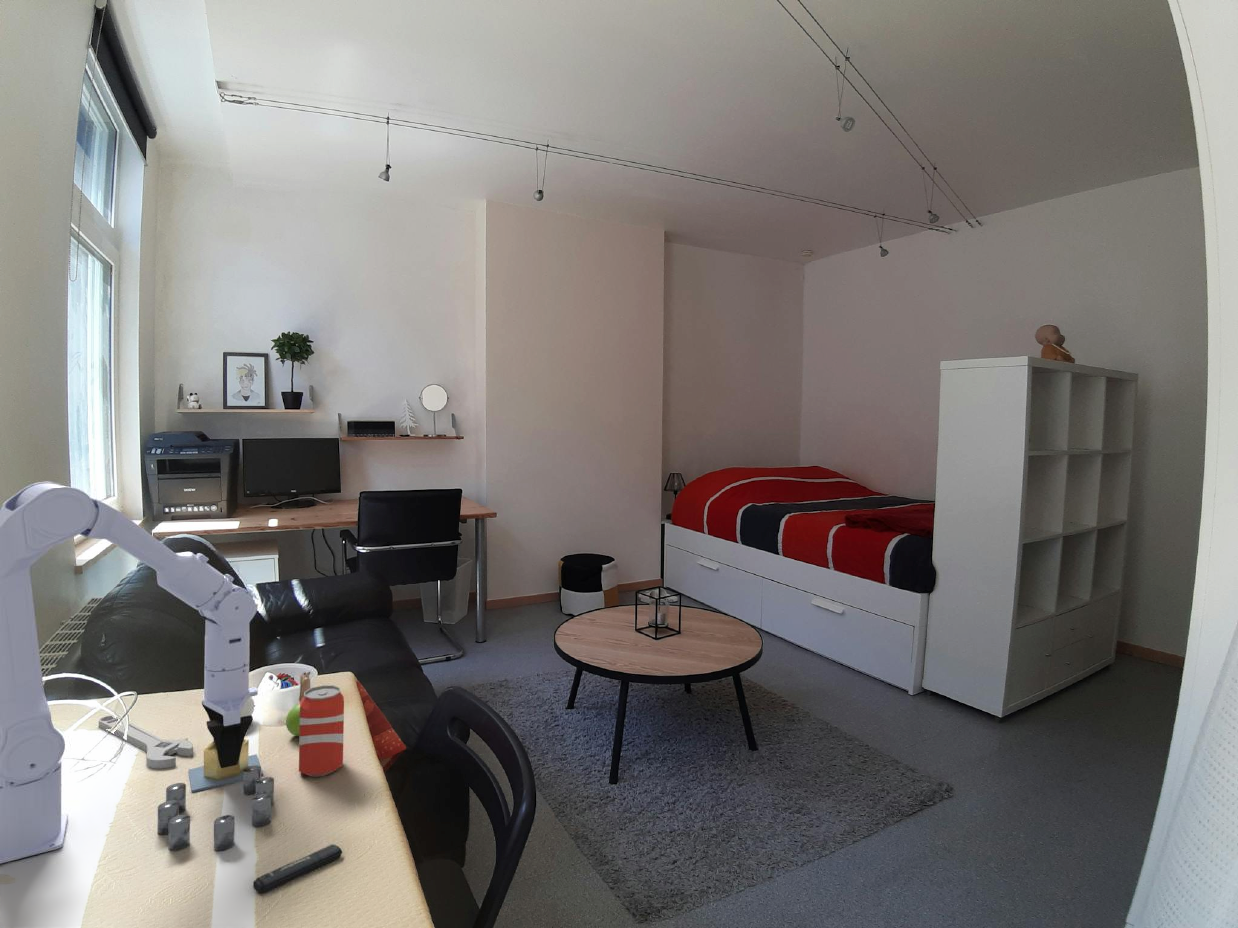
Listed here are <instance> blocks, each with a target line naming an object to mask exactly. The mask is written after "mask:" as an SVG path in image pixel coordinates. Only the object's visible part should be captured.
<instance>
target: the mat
mask: <svg viewBox="0 0 1238 928" xmlns="http://www.w3.org/2000/svg"><path fill="white" fill-rule="evenodd" d="M258 757H259V756H258V754H251V755H248V767H249V766H253V765H258V766H260V767H261V777H263V776H264V771H263V769H262V765H261V762H260V760H259V758H258ZM188 776H189V782H190V792H191V793H196V792H201V791H204V790H208V789H212V788H217V787H219V786H220V787H221V786H225V785H228V784H229V785H230V784H233V783H237V782H241V781H242V782H243V772H242V773H241V774H240V776H236V777H232V778H228V779H223V780H219V781H215V780H212V779H209V778H207V777H204V765H202V766H199V767H194V768H190V769H189V768H188Z"/></svg>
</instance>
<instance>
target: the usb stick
mask: <svg viewBox="0 0 1238 928" xmlns="http://www.w3.org/2000/svg"><path fill="white" fill-rule="evenodd" d="M342 854H343V850H342V848H340V846H338V845H337V844H333V843H332V844H330V845H327V846H325V847H323V848H321V849H319V850H316V851H314V852H313V853H310V854H308V855H306V856H303V857H300V858H298V859H296V860H294V861H292V862H290V863H287V864H285V865H283V866H281V867H278V868H275V869H273V870H272V871H269V872H267V873H265V874H262V875H261V876H257V877H256V878H255V880H253V882H252V883H253V884H252V887H253V888H254V890H255V891H256V893H257V894H258V895H261V894H263V895H264V894H265V895H266V894H267V893H269V892H271V891H274V890H276V889H279V888H280V887H282V886H284V885H287V884H289V883H291V882H293V881H295V880H298V879H300V878H302V877H304V876H306V875H308V874H311V873H313V872H314V871H317V870H319V869H322V868H323V867H325V866H328V865H330V864H332V863H334V862H336V861H339V860H340V859H341V857H342Z"/></svg>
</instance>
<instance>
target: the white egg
mask: <svg viewBox="0 0 1238 928" xmlns="http://www.w3.org/2000/svg"><path fill="white" fill-rule="evenodd" d="M254 704H255V700H254V698H253V696H252V697H250V698H249V699H248V700H247V702H246V703H245V705H244V706H243V708H242V709H241V713H240V717H244V716H249V715H252V716H253V714H254V710H255V707H256V705H254Z"/></svg>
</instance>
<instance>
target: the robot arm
mask: <svg viewBox="0 0 1238 928" xmlns="http://www.w3.org/2000/svg"><path fill="white" fill-rule="evenodd" d="M79 535H81V536H82V537H85V538H87V539H95V540H107V541H108V542H109V543H111V544H112V545H114V546H116V547H118V548H119V549H121V550H122V551H124V552H125V553H128V554H129V555H131V556H132V557H134V558H135V559H137V560H139V561H141V562H142V563H144V564H145V565H147V566H148V567H150V568H152V569H153V570H155V572H156V582H157V585H158V587H161V588H162V589H164V590H166V591H167V592H168V593H170V594H171V595H172V596H174V597H176V598H177V599H179V600H180V601H182V602H184V603H185V604H187V605H188V606H189V607H191V608H193V609H195V610H197V611H198V612H199V614H200V616H201V617H205V618H207V619H205V626H204V627H205V631H204V632H205V633H204V669H203V670H204V672H203V673H204V677H203V678H204V679H203V680H204V681H203V682H204V683H203V684H204V685H203V688H204V689H203V693H204V694H203V696H202V700H201V705H202V708H203V709H204V710H205V712H206V714H207V716H208V720H207V721H206V726H207V730H208V732H209V733H210V735H211V736H212V738H213V741H215V744H216V748H217V755H218V760H219V764H220V767H221V768H225V767H230V766H234V765H237V764H238V761H239V757H240V753H241V749H242V744H243V741H244V739H246V738H245V737H246V735H247V733H248V731H249V729H250V727H251V726H252V723H253V721H254V717H253V714H252V715H249V716H244V717H240V713H241V709H242V708H243V706H244V705H245V703H246V702H247V700H248V699H249V698H250V697H252V698H253V697H255V696H258V694H259V690H258V688H257V687H255V686H254V687H253V686H252V687H250V638H251V637H250V623H251V621H252V620H253V618H254V617H255V615H256V613H257V612H258V606H259V605H258V603H256V602H255V601H256V599H254V595H253V594H252V592H251V591H250V590H248V589H247V588H244V587H241V586H239V585H236V584H234V583H233V581H234V580H235V578H234V576H232V575H231V574H228V573H225V574H223V573H221V572H220V571H219V570H217V569H216V568H215V567H213V566H212V565H210V563H207V562H208V561H209V560H210V559H209V557H207V556H205V555H204V554H203V553H200V552H198V553H196V554H195V553H194V552H191V551H183V552H174V551H173V550H171V549H170V548H169V547H168V546H167V545H165V544H164V543H162V542H161V541H159V539H157V537H154V535H151V534H150V533H149V532H148V531H146V530H145V529H144V528H142V527H141V526H140V525H138V524H137V523H136V522H134V521H133V520H132V519H130V518H129V517H128V516H127V515H125V514H124V513H122V512H121V511H120V510H117V509H116V508H114V507H112V506H111V505H109V504H107V503H105V502H103V501H100V500H98V499H97V498H96V499H95V498H92V497H90V495H88V493H86V492H85V491H83V490H81V489H80V488H76V487H71V486H65V485H64V484H62V483H58V482H53V481H40V482H35V483H32V484H29V485H27V486H26V487H23V488H22V489H21V490H20V491H18V492H16V493H15V494H14V495H13V496H11V497H10V498H8V499H6V500H5V501H4V502H3V504H2V506H1V508H0V864H3V863H8V862H11V861H15V860H19V859H24V858H27V857H31V856H35V855H39V854H42V853H46V852H50V851H53V850H57V849H60V848H62V847H63V845H64V842H65V841H64V840H65V835H66V829H67V824H68V823H67V822H68V818H69V817H68V816H69V814H66V813H62V758H63V755H64V752H65V749H66V742H65V738H64V736H63V735H62V734H61V733H60V732H59V730H57V728H56V727H55V726H54V724H53V722H52V714H51V711H50V710H51V709H50V707H49V704H48V701H47V698H46V694H45V689H44V688H45V687H44V681H43V673H42V672H43V671H42V664H41V657H40V656H41V655H40V648H39V639H38V631H37V624H36V623H37V621H36V613H35V603H34V596H33V587H32V580H31V572H30V571H31V570H30V568H31V566H32V565H33V564H34V563H35V562H37V561H38V560H40V558H41V557H43V556H44V555H45V554H46V553H47V552H48V551H49V550H50V549H53V547H55V546H57V545H59V544H60V545H61V544H62V543H64V542H66V541H69V540H70V539H73V538H75V537H77V536H79Z"/></svg>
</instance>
